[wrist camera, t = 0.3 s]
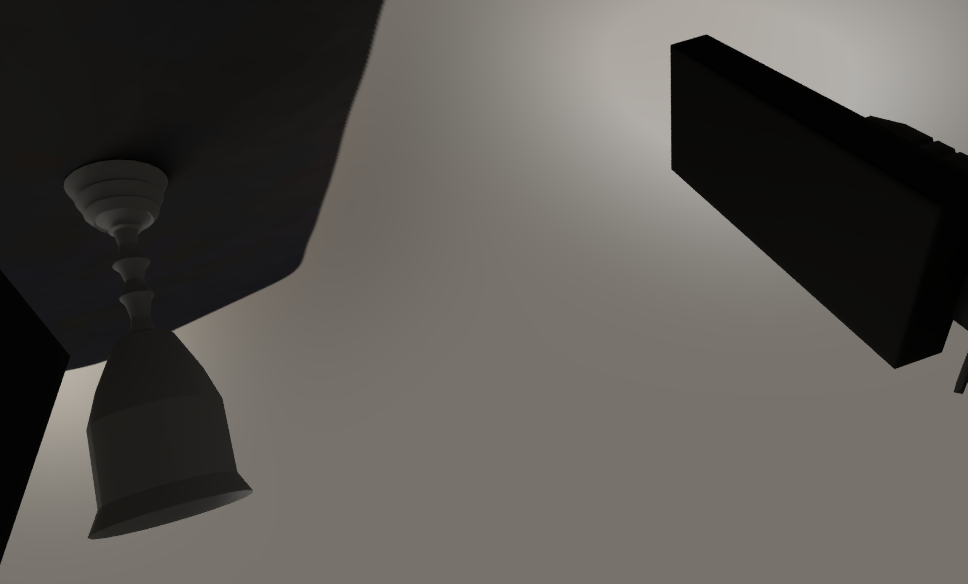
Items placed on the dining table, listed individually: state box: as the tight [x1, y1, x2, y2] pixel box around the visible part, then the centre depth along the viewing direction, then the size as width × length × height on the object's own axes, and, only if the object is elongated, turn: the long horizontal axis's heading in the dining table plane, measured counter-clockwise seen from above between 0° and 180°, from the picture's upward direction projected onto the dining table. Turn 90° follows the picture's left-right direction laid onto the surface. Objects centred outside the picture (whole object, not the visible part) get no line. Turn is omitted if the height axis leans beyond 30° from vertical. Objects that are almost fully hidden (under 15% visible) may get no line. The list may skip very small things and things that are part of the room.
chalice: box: [64, 160, 253, 539], centre depth 34 cm, size 7×7×18 cm
